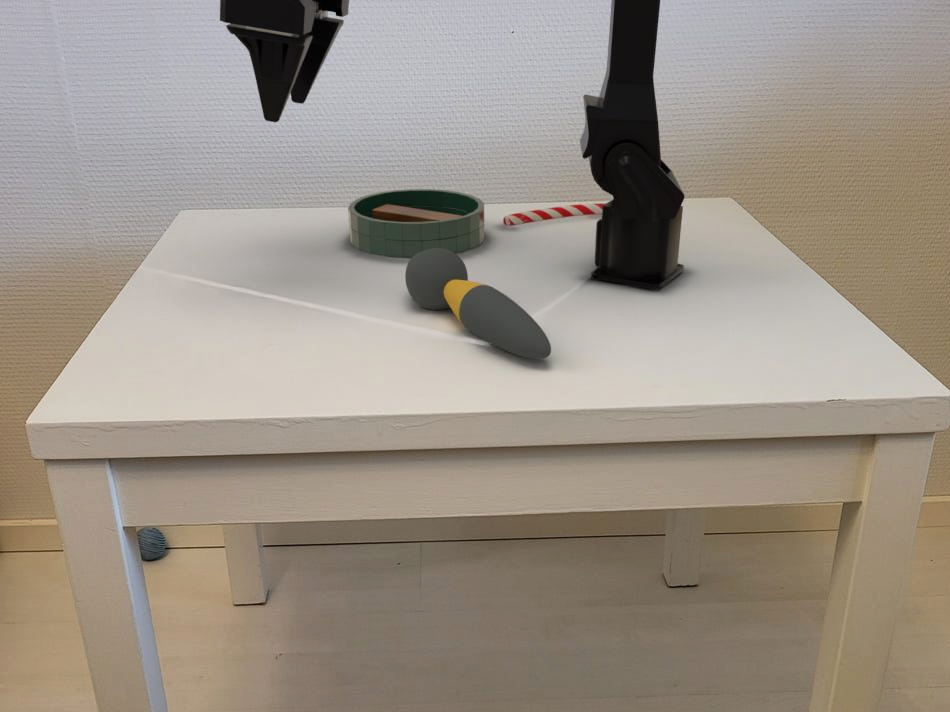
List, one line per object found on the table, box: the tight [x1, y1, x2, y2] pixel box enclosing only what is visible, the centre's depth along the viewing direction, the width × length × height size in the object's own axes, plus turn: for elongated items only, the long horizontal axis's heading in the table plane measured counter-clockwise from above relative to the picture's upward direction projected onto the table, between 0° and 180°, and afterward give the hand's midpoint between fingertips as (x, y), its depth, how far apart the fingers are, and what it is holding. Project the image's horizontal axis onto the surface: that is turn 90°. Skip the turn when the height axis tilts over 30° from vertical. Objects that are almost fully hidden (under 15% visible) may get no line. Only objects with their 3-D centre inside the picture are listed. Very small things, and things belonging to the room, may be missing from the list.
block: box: [372, 204, 461, 222], centre depth 97 cm, size 9×2×2 cm, turn 59°
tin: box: [347, 188, 485, 259], centre depth 97 cm, size 13×13×4 cm
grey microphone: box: [404, 248, 552, 360], centre depth 76 cm, size 20×5×5 cm, turn 38°
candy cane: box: [502, 203, 605, 226], centre depth 103 cm, size 8×1×15 cm
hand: (285, 111), depth 83 cm, fingers open, 9 cm apart
